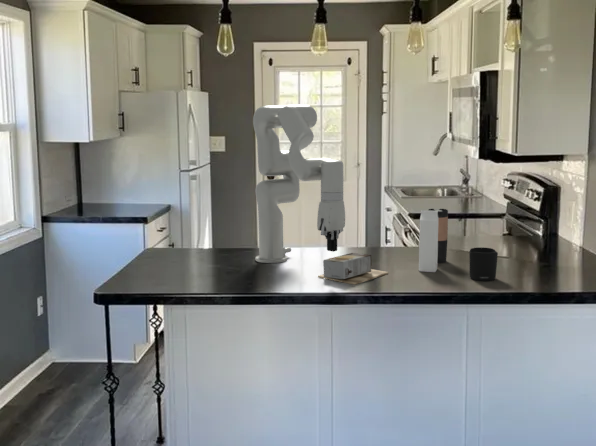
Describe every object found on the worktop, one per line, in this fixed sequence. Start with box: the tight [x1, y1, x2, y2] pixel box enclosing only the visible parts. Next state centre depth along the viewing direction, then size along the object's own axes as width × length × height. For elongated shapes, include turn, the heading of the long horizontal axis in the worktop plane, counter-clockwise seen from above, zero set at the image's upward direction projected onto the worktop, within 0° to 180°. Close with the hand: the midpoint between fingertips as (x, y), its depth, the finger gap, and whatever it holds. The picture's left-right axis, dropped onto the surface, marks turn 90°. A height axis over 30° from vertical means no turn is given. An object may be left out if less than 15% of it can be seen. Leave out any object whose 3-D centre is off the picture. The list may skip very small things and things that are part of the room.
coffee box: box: [322, 252, 373, 279], centre depth 240 cm, size 9×6×16 cm
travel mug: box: [428, 208, 449, 264], centre depth 263 cm, size 8×8×20 cm
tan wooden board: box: [317, 268, 389, 286], centre depth 243 cm, size 20×16×1 cm
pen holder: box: [468, 247, 499, 282], centre depth 237 cm, size 9×9×10 cm
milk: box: [418, 209, 438, 273], centre depth 249 cm, size 6×6×22 cm
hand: (332, 250), depth 232 cm, fingers closed
